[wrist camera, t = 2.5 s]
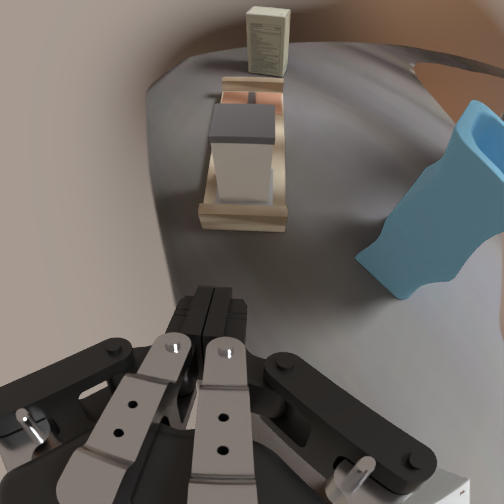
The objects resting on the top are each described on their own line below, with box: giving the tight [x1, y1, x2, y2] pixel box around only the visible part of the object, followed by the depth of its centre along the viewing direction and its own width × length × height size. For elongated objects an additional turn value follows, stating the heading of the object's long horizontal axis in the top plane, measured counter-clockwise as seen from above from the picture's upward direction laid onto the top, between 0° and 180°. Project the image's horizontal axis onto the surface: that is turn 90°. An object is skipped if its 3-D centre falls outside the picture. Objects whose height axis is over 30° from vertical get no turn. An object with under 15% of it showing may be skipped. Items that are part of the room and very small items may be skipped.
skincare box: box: [246, 6, 290, 77], centre depth 39 cm, size 6×4×12 cm
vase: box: [355, 100, 504, 300], centre depth 22 cm, size 8×8×20 cm
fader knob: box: [208, 103, 275, 206], centre depth 28 cm, size 5×6×11 cm
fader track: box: [198, 77, 288, 232], centre depth 36 cm, size 24×9×4 cm, turn 177°
